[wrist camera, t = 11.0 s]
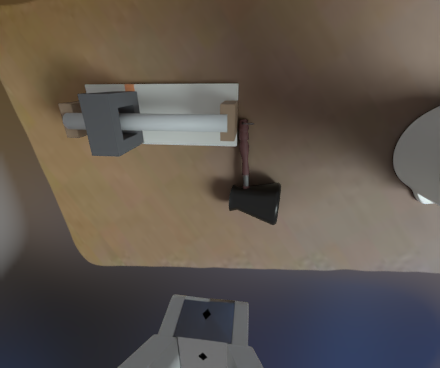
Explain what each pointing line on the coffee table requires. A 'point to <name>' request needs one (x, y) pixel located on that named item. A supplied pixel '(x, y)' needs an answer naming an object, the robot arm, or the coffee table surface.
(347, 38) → the coffee table surface
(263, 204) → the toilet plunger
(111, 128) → the collar
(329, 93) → the coffee table surface
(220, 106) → the rail
